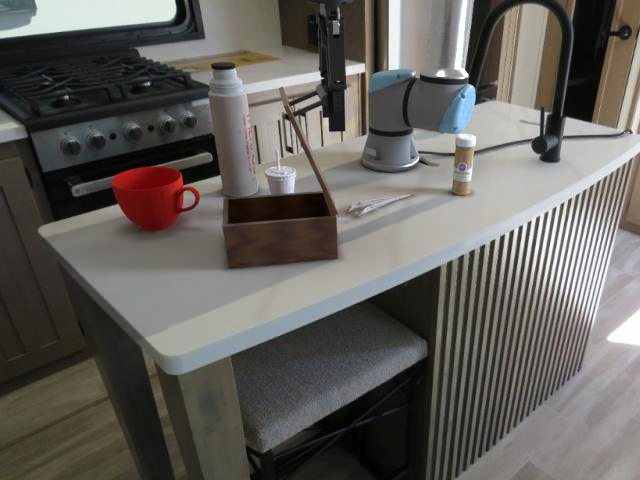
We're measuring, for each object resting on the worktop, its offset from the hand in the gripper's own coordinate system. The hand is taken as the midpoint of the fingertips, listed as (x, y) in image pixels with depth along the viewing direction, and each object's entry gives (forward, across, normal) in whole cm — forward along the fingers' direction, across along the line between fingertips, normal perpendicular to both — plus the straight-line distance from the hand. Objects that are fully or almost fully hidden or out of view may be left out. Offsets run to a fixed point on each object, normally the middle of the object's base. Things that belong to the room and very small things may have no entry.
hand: (333, 123), depth 98 cm
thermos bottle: (+24, -30, -18) cm, 43 cm away
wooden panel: (+5, 0, -5) cm, 7 cm away
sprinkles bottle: (+23, -21, +33) cm, 45 cm away
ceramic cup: (+24, -14, -33) cm, 43 cm away
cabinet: (+23, 0, -11) cm, 26 cm away
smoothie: (+23, -16, -9) cm, 30 cm away
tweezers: (+23, -17, +13) cm, 31 cm away
